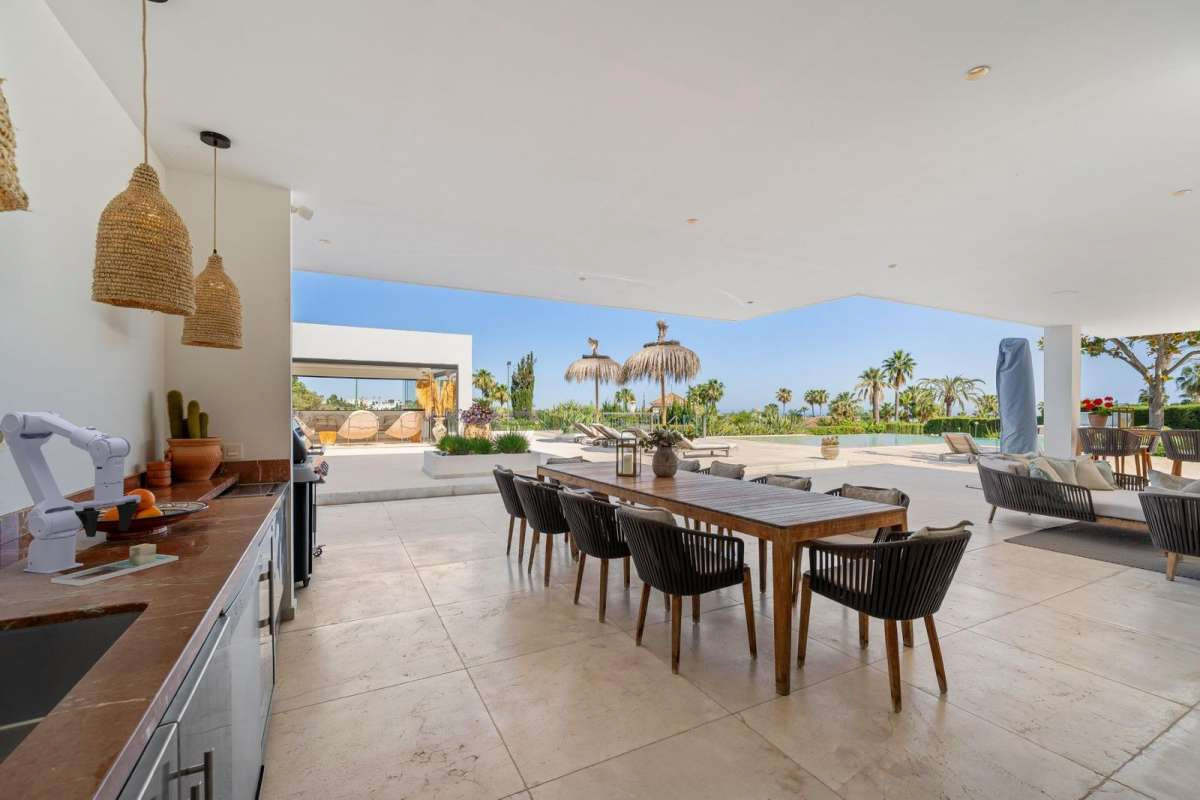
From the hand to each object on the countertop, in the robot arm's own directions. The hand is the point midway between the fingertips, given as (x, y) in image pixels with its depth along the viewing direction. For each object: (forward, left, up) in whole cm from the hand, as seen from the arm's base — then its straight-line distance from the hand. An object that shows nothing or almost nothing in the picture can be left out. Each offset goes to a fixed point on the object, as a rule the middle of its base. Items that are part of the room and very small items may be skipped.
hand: (107, 533), depth 141 cm
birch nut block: (+3, +7, -10) cm, 12 cm away
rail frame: (+3, +1, -10) cm, 10 cm away
